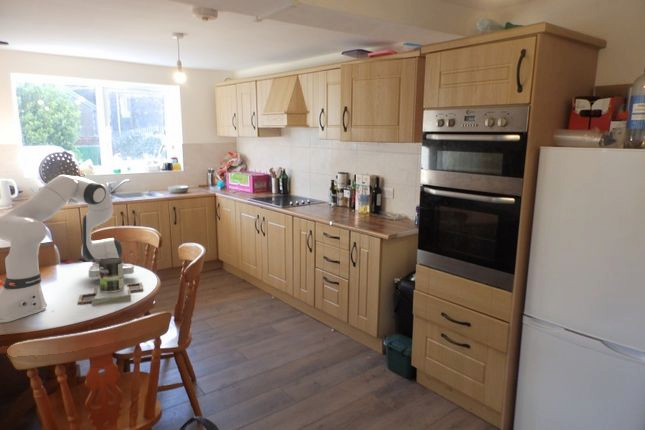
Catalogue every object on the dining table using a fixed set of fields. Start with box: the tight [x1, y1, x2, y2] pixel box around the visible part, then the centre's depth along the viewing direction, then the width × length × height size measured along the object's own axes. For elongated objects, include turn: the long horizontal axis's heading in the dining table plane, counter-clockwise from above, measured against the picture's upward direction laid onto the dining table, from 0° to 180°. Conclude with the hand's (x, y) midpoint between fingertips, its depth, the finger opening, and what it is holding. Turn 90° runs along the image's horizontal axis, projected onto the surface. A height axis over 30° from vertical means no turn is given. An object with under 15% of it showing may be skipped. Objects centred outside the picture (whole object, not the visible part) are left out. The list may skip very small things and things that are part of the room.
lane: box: [77, 281, 144, 306], centre depth 197 cm, size 24×26×2 cm
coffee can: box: [97, 258, 125, 294], centre depth 203 cm, size 10×10×14 cm
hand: (111, 275), depth 208 cm, fingers closed
